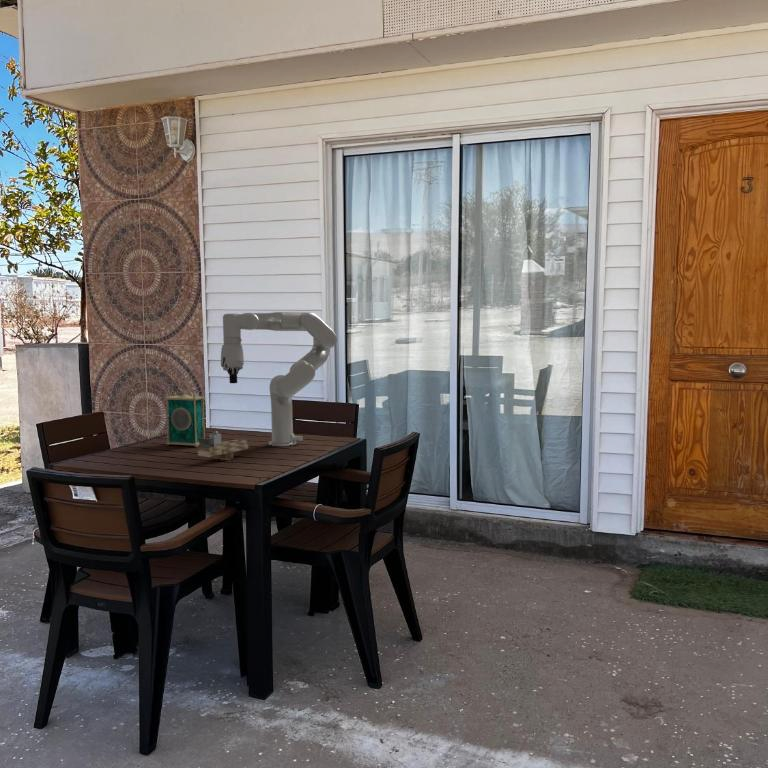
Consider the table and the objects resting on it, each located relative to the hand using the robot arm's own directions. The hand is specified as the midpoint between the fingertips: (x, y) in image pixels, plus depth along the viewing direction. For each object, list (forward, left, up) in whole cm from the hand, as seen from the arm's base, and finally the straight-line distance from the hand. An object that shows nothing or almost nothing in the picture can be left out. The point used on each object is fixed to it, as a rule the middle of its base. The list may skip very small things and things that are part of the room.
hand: (233, 383), depth 335 cm
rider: (+2, +29, -24) cm, 38 cm away
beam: (0, +26, -29) cm, 39 cm away
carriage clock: (+24, -8, -29) cm, 39 cm away
